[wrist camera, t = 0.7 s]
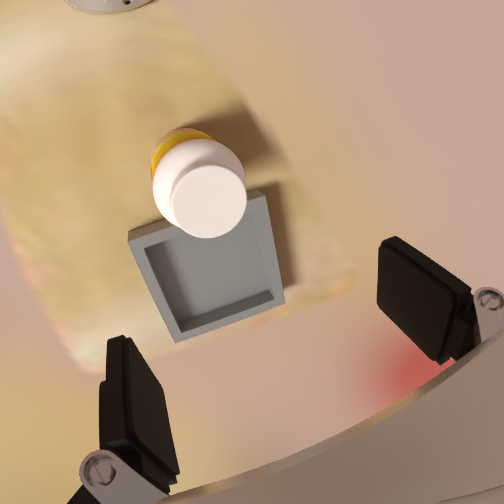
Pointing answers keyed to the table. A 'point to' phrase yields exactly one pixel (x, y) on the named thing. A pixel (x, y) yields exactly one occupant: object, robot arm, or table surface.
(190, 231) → the supplement bottle
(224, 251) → the tray
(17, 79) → the table surface
